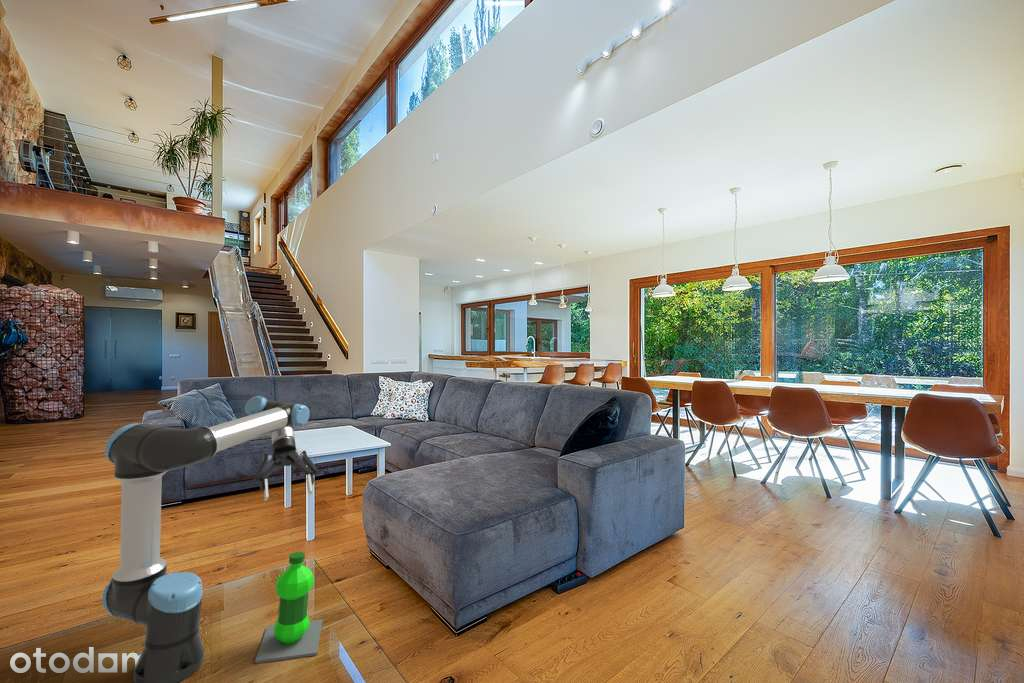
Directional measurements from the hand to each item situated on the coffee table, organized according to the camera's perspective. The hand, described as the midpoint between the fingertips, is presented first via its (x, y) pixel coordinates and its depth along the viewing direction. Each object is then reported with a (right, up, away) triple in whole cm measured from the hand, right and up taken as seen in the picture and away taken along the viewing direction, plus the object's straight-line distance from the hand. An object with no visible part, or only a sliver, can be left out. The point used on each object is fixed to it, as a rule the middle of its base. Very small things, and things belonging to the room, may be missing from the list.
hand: (289, 495), depth 149 cm
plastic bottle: (+9, -37, -17) cm, 42 cm away
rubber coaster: (+9, -38, -17) cm, 43 cm away
